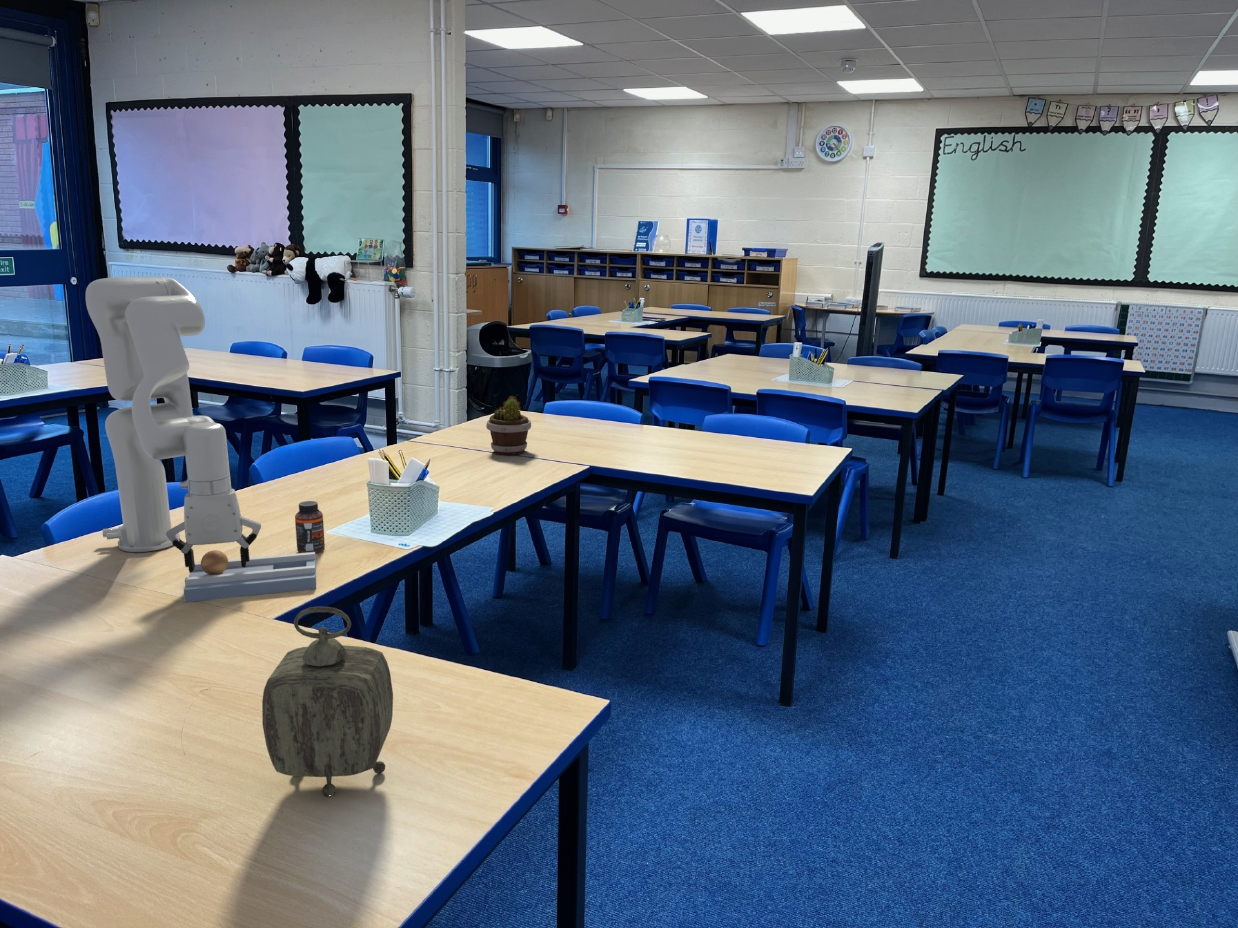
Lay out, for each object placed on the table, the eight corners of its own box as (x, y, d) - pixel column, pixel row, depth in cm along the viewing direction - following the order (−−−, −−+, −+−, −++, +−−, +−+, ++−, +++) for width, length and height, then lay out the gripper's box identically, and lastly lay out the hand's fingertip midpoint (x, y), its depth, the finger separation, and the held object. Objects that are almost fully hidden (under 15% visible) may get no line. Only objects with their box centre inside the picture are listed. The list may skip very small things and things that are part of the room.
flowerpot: (482, 448, 295) (481, 389, 290) (527, 445, 300) (527, 388, 294) (489, 458, 282) (488, 397, 277) (536, 455, 286) (536, 395, 281)
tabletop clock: (396, 765, 118) (388, 593, 112) (381, 807, 110) (370, 624, 103) (288, 765, 118) (273, 593, 111) (264, 808, 109) (246, 623, 103)
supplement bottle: (316, 556, 194) (312, 508, 191) (292, 554, 195) (288, 506, 192) (330, 547, 199) (327, 500, 196) (306, 545, 200) (302, 498, 197)
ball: (200, 580, 173) (198, 556, 172) (203, 571, 178) (201, 547, 176) (228, 577, 174) (225, 554, 173) (230, 568, 179) (228, 545, 178)
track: (185, 602, 169) (182, 584, 168) (194, 575, 181) (192, 559, 181) (316, 588, 176) (314, 571, 175) (316, 564, 189) (314, 548, 188)
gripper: (157, 494, 165) (167, 578, 170) (256, 487, 171) (263, 569, 175) (164, 483, 172) (173, 565, 177) (258, 477, 178) (265, 557, 182)
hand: (218, 567), depth 176 cm, fingers open, 9 cm apart
